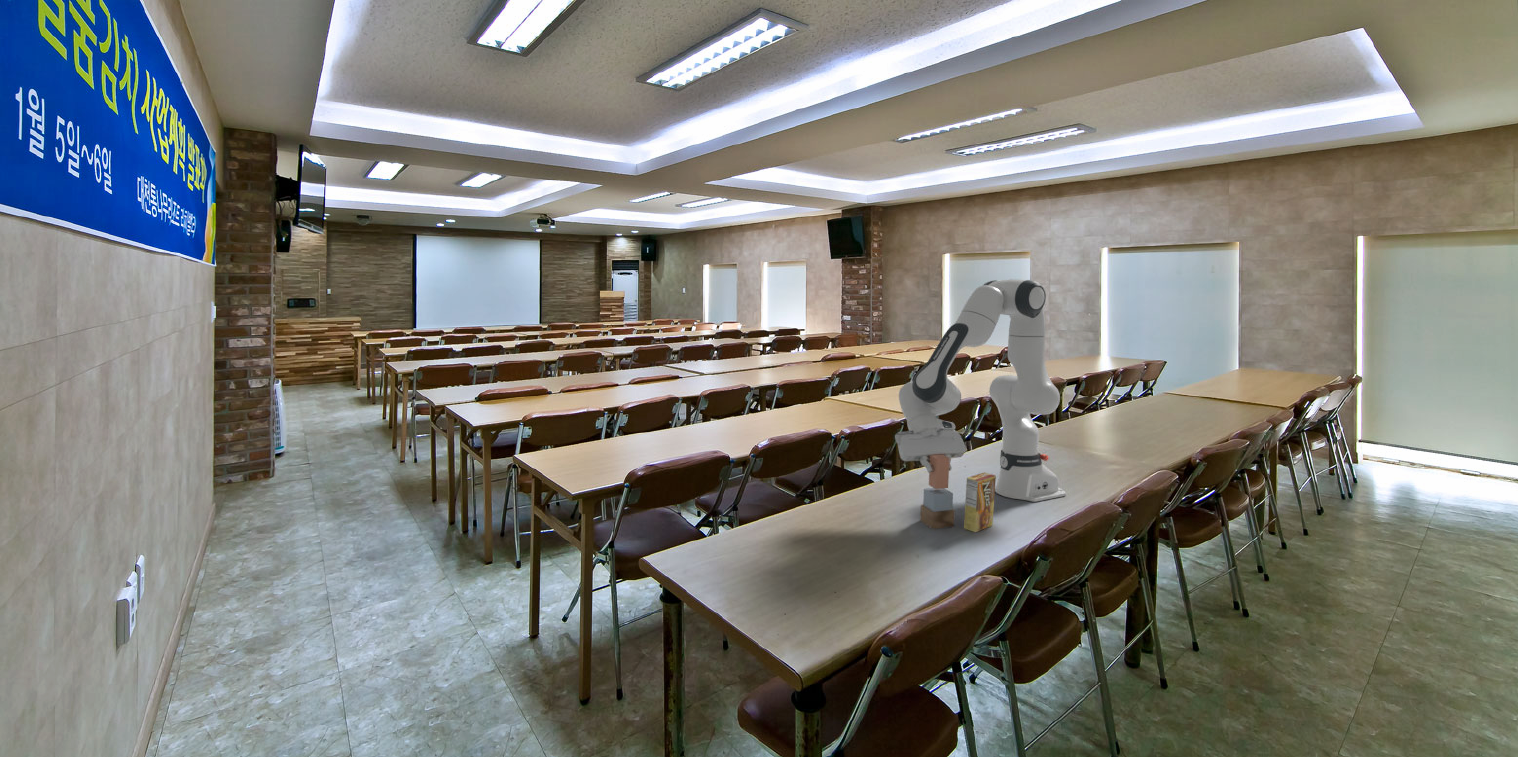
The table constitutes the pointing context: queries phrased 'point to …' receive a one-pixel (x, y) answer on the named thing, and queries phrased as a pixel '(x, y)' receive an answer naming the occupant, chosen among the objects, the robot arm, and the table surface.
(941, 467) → the post
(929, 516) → the tower base
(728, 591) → the table surface
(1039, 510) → the table surface
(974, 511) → the candy box
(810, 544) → the table surface
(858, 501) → the table surface
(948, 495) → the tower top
